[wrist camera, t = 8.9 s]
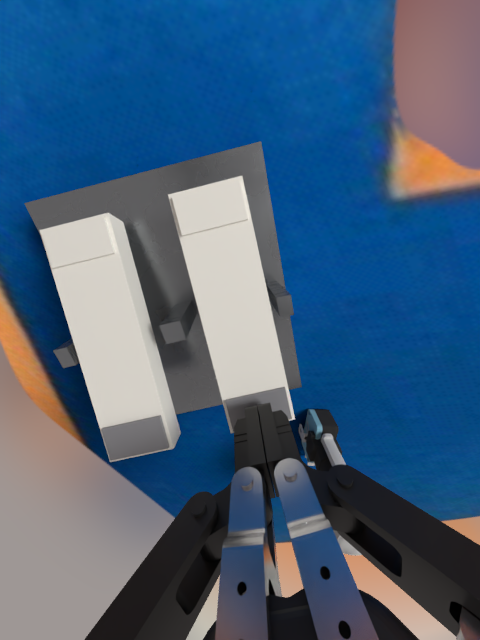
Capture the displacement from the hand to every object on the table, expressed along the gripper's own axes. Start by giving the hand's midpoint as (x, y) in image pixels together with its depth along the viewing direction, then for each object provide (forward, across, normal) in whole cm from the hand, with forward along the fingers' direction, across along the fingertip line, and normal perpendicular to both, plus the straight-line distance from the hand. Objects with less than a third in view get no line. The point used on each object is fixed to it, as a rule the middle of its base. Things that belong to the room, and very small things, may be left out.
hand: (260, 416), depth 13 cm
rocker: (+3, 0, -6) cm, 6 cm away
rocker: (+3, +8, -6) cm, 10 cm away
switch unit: (+9, +4, -6) cm, 11 cm away
